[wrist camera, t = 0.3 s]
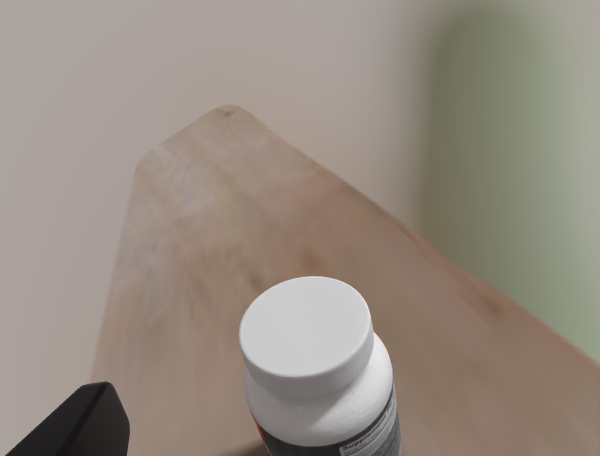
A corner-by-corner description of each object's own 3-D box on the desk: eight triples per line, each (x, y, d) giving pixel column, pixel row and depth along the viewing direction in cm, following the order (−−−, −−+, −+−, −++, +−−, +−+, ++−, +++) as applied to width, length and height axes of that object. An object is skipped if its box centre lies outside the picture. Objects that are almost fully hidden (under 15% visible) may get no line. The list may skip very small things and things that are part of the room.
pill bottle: (257, 471, 25) (191, 331, 19) (338, 390, 27) (303, 245, 21) (347, 563, 21) (300, 425, 15) (431, 458, 23) (419, 306, 18)
